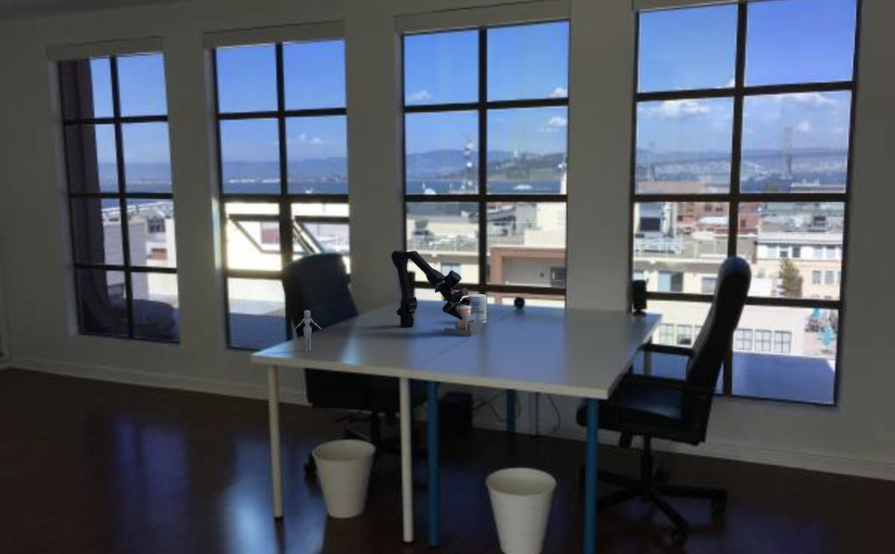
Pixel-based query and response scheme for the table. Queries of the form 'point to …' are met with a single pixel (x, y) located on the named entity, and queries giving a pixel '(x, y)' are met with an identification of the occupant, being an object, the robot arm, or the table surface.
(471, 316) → the follower
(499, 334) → the table surface
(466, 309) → the jar
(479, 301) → the supplement tub
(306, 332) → the human figurine
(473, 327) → the lane
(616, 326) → the table surface
